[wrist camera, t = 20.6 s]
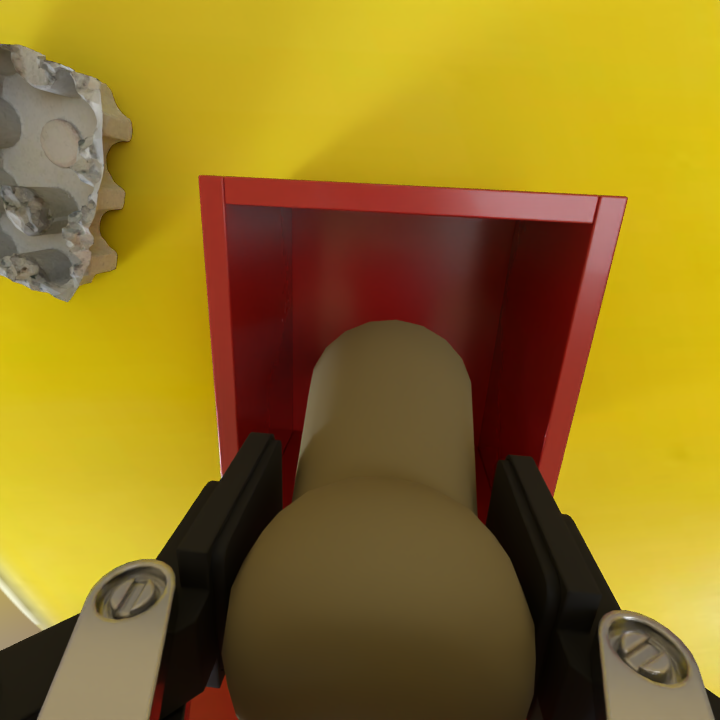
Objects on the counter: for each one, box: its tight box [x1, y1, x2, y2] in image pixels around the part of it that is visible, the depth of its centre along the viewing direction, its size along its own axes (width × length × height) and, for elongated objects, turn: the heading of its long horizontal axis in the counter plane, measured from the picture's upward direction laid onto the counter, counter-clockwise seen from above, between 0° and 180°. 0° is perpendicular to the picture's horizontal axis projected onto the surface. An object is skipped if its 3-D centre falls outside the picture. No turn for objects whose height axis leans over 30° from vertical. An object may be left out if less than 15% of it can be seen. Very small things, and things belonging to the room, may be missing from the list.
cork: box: [221, 320, 536, 720], centre depth 11 cm, size 6×6×11 cm
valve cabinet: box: [198, 175, 628, 525], centre depth 20 cm, size 15×13×10 cm
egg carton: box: [0, 44, 132, 302], centre depth 21 cm, size 11×8×4 cm
